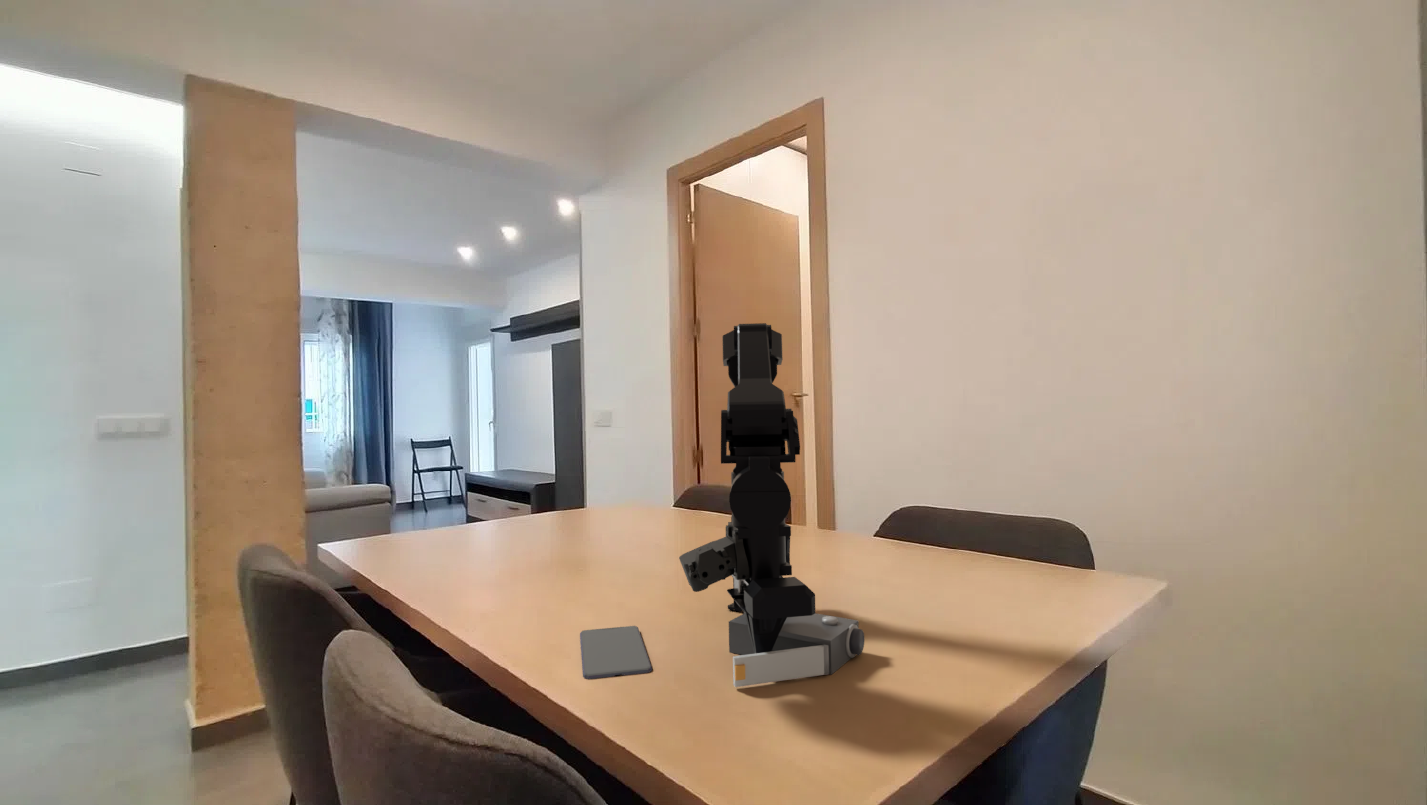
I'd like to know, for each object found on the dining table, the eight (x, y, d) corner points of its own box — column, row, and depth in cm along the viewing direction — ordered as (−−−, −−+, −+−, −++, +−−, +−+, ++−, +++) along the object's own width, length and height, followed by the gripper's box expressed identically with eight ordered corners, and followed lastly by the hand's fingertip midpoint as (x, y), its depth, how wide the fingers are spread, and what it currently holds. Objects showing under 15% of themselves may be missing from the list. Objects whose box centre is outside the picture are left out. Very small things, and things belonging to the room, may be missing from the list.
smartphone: (582, 676, 69) (579, 629, 84) (583, 685, 69) (579, 637, 84) (653, 668, 71) (637, 624, 85) (653, 677, 71) (638, 631, 85)
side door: (736, 688, 65) (735, 659, 65) (733, 684, 66) (732, 656, 66) (831, 675, 68) (830, 647, 68) (827, 671, 69) (826, 644, 69)
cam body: (728, 652, 76) (728, 617, 76) (762, 632, 83) (761, 600, 83) (840, 676, 69) (838, 637, 69) (867, 653, 75) (866, 617, 75)
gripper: (673, 507, 77) (675, 638, 77) (699, 533, 59) (702, 706, 59) (762, 503, 79) (765, 630, 79) (815, 527, 61) (819, 693, 61)
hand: (761, 660), depth 69 cm, fingers closed
